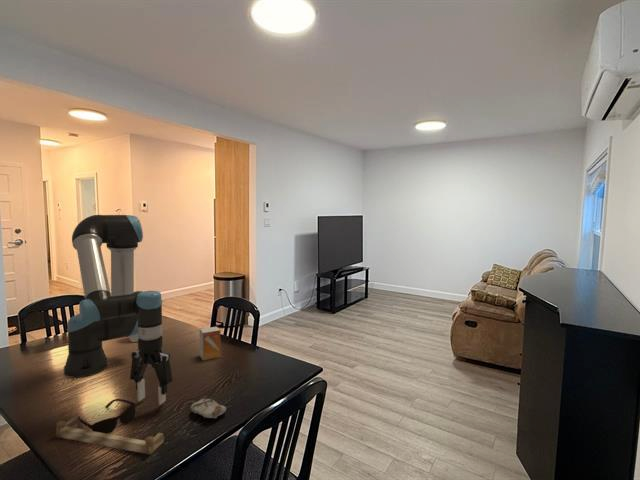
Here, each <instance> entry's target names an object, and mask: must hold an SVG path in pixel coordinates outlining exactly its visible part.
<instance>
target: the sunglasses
mask: <svg viewBox="0 0 640 480" xmlns="http://www.w3.org/2000/svg"><path fill="white" fill-rule="evenodd" d="M114 402H123V403H125V404H127V405H129V407H128V408H126V409H125V410H124V411H123V412H122V413H121V414H119V415H117V416H115V417H114V416H113V417H109V418H104V419H102V420H98V421H96V422H94V423H92V424H90V423H89V422H86V421H85V420H83V419H82V418H81V416H80V415H78V416H77V419H78V422H80V423H81V424H82V425H84V426H85V427H87V428H88V429H91V431H94V432H100V433H105V434H110V433H112V432H114V430H115V428H116V427H117V425H118V421H120V423H121V424H124V425H128V424H129V423H130V422H132V421H133V419H134V417H135V414H136V403H135V402H132V401H129V400H126V399H122V398H115V399H113V400H111V401H110V402H108V403H107V404H106V405H105V408H106V409H107V408H109V407H110V406H112V404H113V403H114Z"/></svg>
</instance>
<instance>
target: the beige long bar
mask: <svg viewBox="0 0 640 480" xmlns="http://www.w3.org/2000/svg"><path fill="white" fill-rule="evenodd" d="M78 427H79V419H78V417H73V418H71V419H70V420H68V421H66V420H59V421H57V422H56V437H57V438H59V439H60V438H62V439H66V440H73V441H79V442H84V443H88V444H92V445H93V444H94V445H98V446H102V447H103V446H105V447H110V448H114V449H119V450H125V451H130V452H136V453H141V454H146V455H147V456H150V455H152V454H154V452H155V451H156V450H157V449H158V448H159V447H160V446H161V445H162V444H163V443H164V441H165V440H164V439H165V438H164V432H163V433H162V432H158V433H157V434H156V435H155V436H153V435H150V436H147V437H146V438H145V440H143V439H137V438H132V437H126V436H123V435H122V436H121V435H115V434H110V433H108V434H105V433H100V432H94V431H92V430H89V429H83V428H78Z"/></svg>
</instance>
